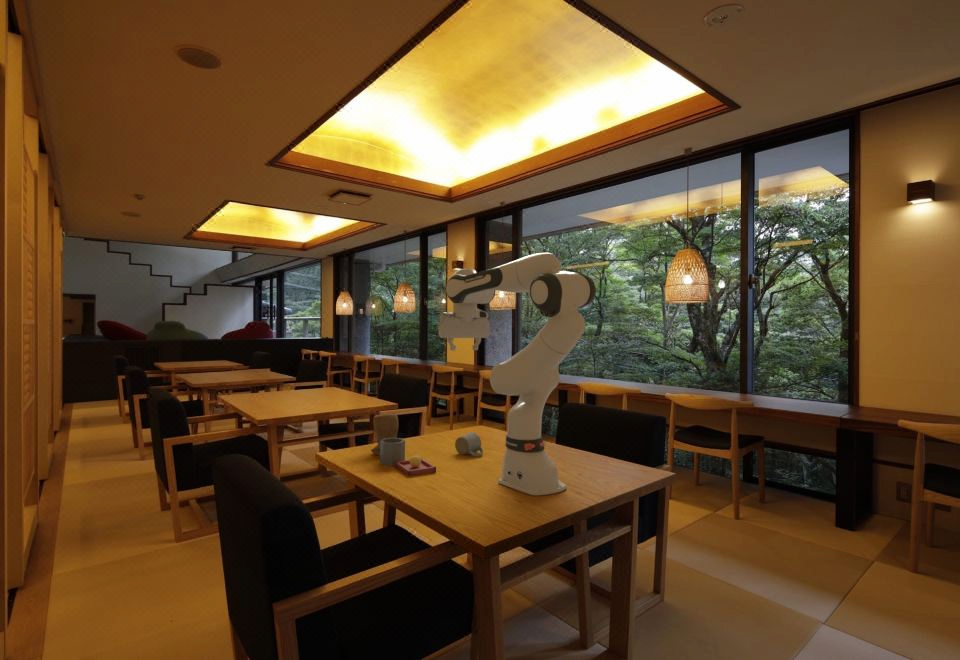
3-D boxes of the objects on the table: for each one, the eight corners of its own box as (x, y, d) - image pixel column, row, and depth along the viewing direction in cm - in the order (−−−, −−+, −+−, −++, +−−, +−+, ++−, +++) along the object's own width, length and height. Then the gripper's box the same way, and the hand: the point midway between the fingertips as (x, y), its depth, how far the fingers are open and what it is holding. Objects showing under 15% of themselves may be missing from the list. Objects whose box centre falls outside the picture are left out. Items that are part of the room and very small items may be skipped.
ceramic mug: (453, 453, 189) (453, 434, 188) (466, 449, 195) (467, 430, 195) (474, 459, 182) (474, 439, 182) (487, 454, 188) (488, 435, 188)
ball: (423, 468, 167) (423, 456, 167) (412, 469, 165) (412, 457, 165) (418, 464, 170) (418, 453, 170) (407, 466, 168) (407, 455, 168)
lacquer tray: (436, 472, 165) (436, 467, 165) (408, 476, 160) (408, 471, 160) (421, 463, 175) (421, 458, 175) (395, 467, 170) (395, 461, 170)
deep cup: (407, 463, 174) (407, 441, 174) (385, 467, 169) (385, 444, 169) (398, 458, 181) (399, 436, 181) (377, 461, 177) (377, 439, 176)
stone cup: (382, 446, 198) (382, 409, 198) (408, 448, 195) (409, 411, 194) (362, 455, 184) (362, 416, 183) (390, 458, 180) (391, 418, 180)
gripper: (443, 312, 172) (442, 351, 172) (492, 313, 183) (491, 350, 183) (435, 312, 178) (435, 350, 178) (483, 313, 188) (483, 349, 188)
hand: (464, 350), depth 180 cm, fingers open, 8 cm apart
